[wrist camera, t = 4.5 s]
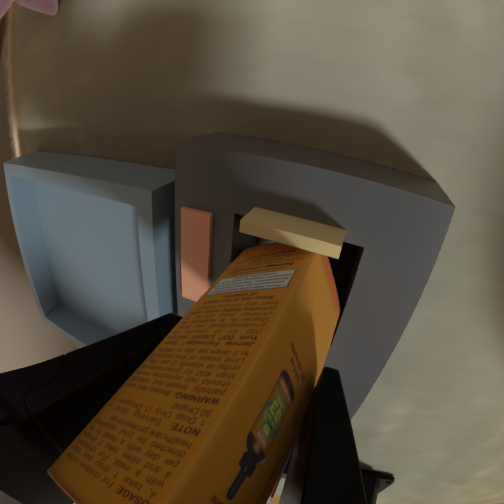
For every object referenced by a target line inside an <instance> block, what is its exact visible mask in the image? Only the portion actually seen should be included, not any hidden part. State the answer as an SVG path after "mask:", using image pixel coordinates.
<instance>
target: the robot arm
mask: <svg viewBox="0 0 504 504" xmlns="http://www.w3.org/2000/svg"><path fill="white" fill-rule="evenodd" d="M182 318H183V317H182V316H180V315H177V314H175V313H168V314H165V315H163V316H161V317H158V318H156V319H153V320H151V321H148V322H146V323H143V324H141V325H138V326H136V327H133V328H131V329H128V330H126V331H123V332H120V333H118V334H115V335H113V336H110V337H108V338H105V339H103V340H100V341H97V342H95V343H92V344H90V345H87V346H85V347H82V348H79V349H77V350H74V351H72V352H69V353H67V354H66V355H61V356H58V357H55V358H53V359H50V360H47V361H44V362H41V363H38V364H35V365H31V366H28V367H25V368H20V369H16V370H12V371H8V372H4V373H0V504H73V503H74V501H72V500H71V499H70V498H69V497H68V496H67V495H66V494H65V493H64V492H63V491H62V490H61V489H60V487H59V486H58V485H57V484H56V483H55V482H54V480H53V479H52V478H51V477H50V476H49V475H48V473H47V470H48V469H49V468H50V467H51V466H52V465H53V464H54V462H55V461H56V460H57V459H58V458H59V457H60V456H61V454H62V453H63V452H64V451H65V450H66V449H67V447H68V446H69V445H70V444H71V443H72V442H73V441H74V439H75V438H76V437H77V436H78V435H79V434H80V433H81V432H82V430H83V429H84V428H85V427H86V426H87V425H88V424H89V423H90V421H91V420H92V419H93V418H94V417H95V416H96V415H97V413H98V412H99V411H100V410H101V409H102V408H103V407H104V405H105V404H106V403H107V402H108V401H109V400H110V399H111V398H112V396H113V395H114V394H115V393H116V392H117V391H118V389H119V388H120V387H121V386H122V385H123V384H124V383H125V381H126V380H127V379H128V378H129V377H130V376H131V375H132V374H133V373H134V372H135V370H136V369H137V368H138V367H139V366H140V365H141V364H142V363H143V362H144V360H145V359H146V358H147V357H148V356H149V355H150V354H151V353H152V352H153V351H154V349H155V348H156V347H157V346H158V345H159V343H160V342H161V341H162V340H163V339H164V338H165V337H166V336H167V335H168V334H169V332H170V331H171V330H172V329H173V328H174V327H175V326H176V325H177V323H178V322H179V321H180V320H181V319H182ZM392 483H394V477H392V476H385V475H379V474H374V473H368V472H363V471H361V469H360V464H359V459H358V454H357V449H356V444H355V439H354V435H353V430H352V425H351V421H350V416H349V411H348V407H347V403H346V398H345V394H344V390H343V385H342V381H341V377H340V373H339V371H338V370H337V369H334V368H330V367H327V366H325V367H323V369H322V371H321V374H320V376H319V378H318V381H317V383H316V386H315V388H314V391H313V394H312V397H311V400H310V403H309V406H308V409H307V411H306V414H305V417H304V420H303V422H302V425H301V427H300V430H299V432H298V435H297V438H296V442H295V445H294V449H293V453H292V457H291V461H290V465H289V469H288V473H287V476H286V480H285V484H284V487H283V491H282V494H281V498H280V501H279V504H376V500H377V496H378V493H379V492H381V491H382V490H384V489H385V488H387V487H388V486H390V485H391V484H392Z"/></svg>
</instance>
